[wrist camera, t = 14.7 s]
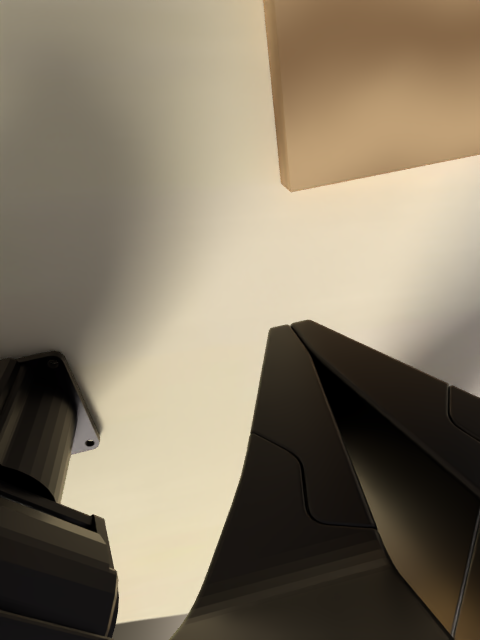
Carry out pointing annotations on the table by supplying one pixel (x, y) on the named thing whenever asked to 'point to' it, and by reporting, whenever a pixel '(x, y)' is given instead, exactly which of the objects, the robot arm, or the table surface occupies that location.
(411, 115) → the wooden l-shaped stand
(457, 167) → the table surface
